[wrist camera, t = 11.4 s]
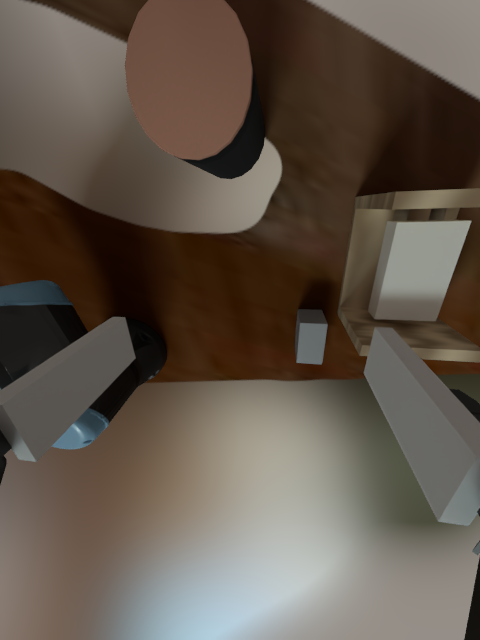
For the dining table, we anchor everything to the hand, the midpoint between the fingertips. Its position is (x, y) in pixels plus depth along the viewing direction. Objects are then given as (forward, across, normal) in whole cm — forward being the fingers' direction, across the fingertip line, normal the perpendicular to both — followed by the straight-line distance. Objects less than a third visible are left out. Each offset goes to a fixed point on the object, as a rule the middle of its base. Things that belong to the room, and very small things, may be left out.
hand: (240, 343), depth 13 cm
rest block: (+32, +8, -15) cm, 36 cm away
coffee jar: (+32, -6, +16) cm, 36 cm away
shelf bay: (+32, +20, -2) cm, 38 cm away
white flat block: (+26, +20, -2) cm, 33 cm away
